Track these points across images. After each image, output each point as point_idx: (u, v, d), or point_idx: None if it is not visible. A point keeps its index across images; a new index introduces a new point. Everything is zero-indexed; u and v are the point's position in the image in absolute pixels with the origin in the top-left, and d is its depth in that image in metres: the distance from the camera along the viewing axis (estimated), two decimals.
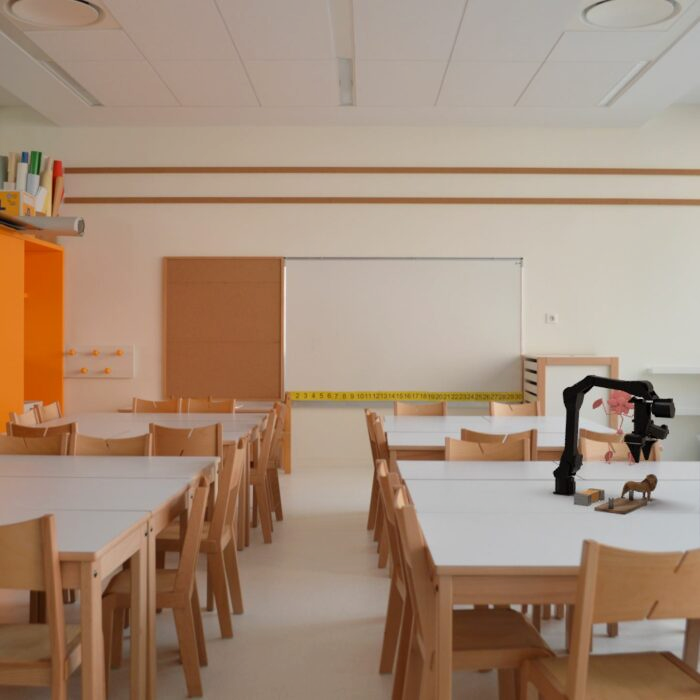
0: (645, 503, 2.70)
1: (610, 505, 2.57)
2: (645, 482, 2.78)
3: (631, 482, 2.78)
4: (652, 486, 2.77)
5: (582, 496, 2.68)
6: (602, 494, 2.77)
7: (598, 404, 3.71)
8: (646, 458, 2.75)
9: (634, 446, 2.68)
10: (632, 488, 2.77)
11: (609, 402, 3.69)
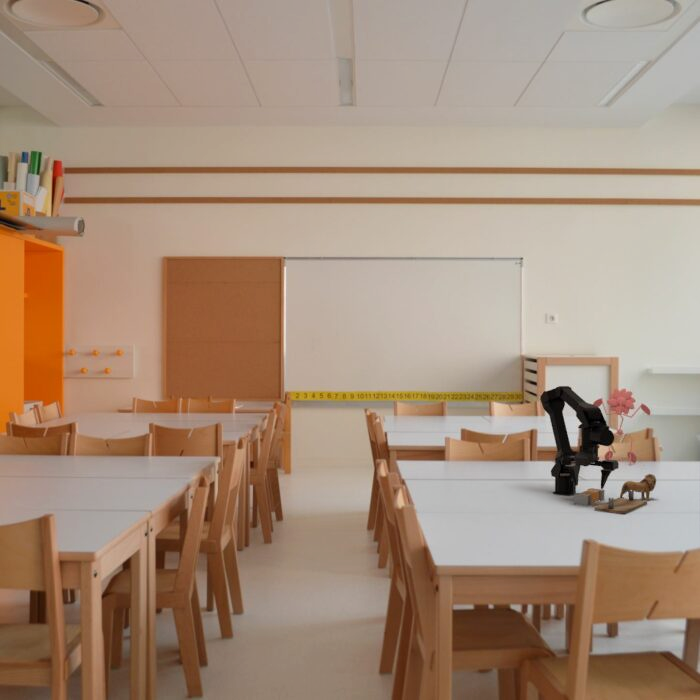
0: (645, 503, 2.70)
1: (610, 505, 2.57)
2: (644, 482, 2.78)
3: (630, 482, 2.78)
4: (651, 486, 2.77)
5: (582, 496, 2.68)
6: (602, 494, 2.77)
7: (598, 404, 3.71)
8: None
9: None
10: (631, 488, 2.77)
11: (609, 402, 3.69)
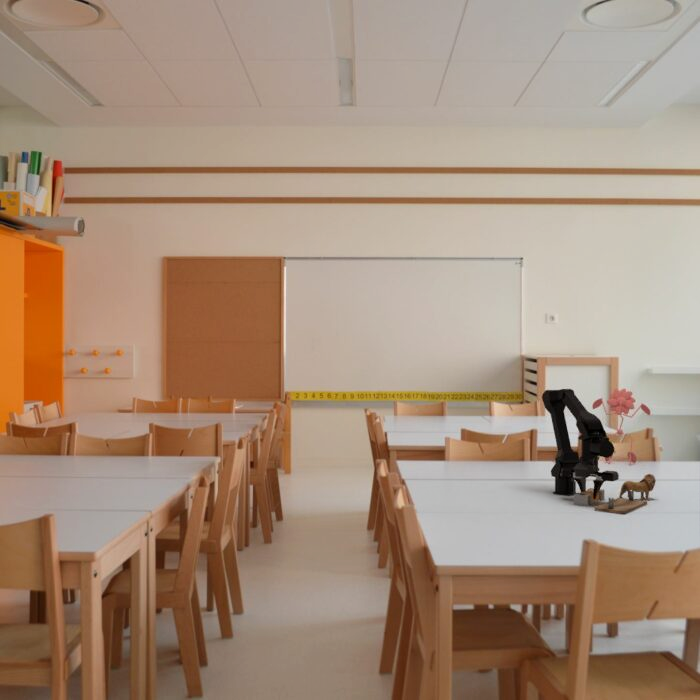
0: (645, 503, 2.70)
1: (610, 505, 2.57)
2: (644, 482, 2.78)
3: (629, 482, 2.78)
4: (650, 486, 2.77)
5: (582, 496, 2.68)
6: (602, 494, 2.77)
7: (598, 404, 3.71)
8: None
9: None
10: (630, 488, 2.77)
11: (609, 402, 3.69)
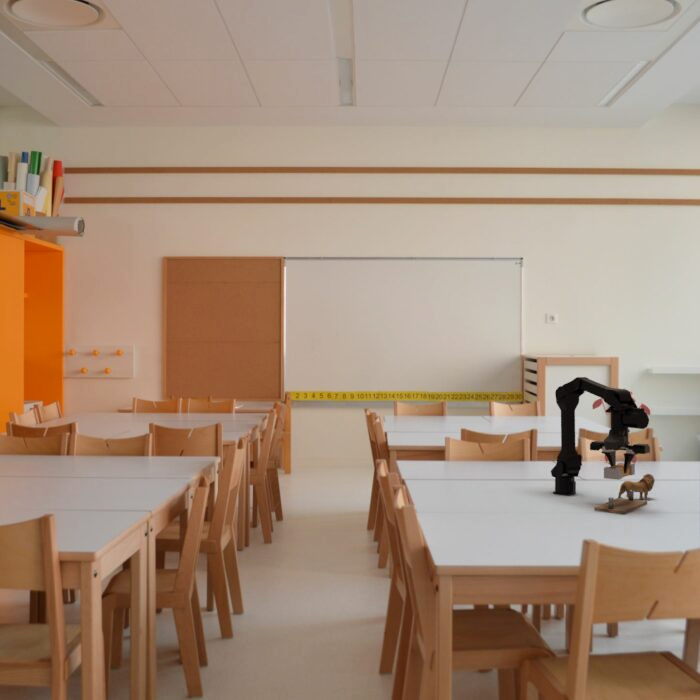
0: (645, 503, 2.70)
1: (610, 505, 2.57)
2: (642, 482, 2.78)
3: (628, 482, 2.78)
4: (649, 486, 2.78)
5: (613, 469, 2.60)
6: (632, 468, 2.69)
7: (598, 404, 3.71)
8: None
9: None
10: (629, 488, 2.77)
11: None
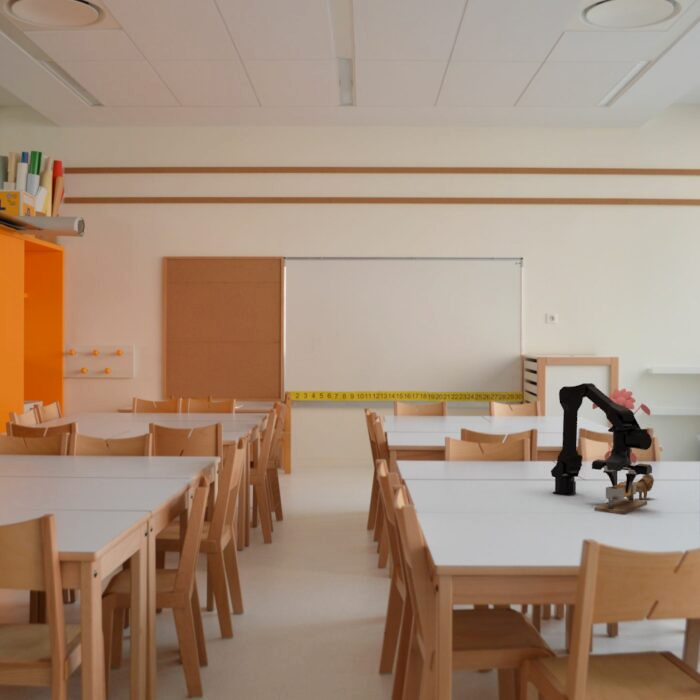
0: (645, 503, 2.70)
1: (610, 505, 2.57)
2: (642, 482, 2.78)
3: None
4: (648, 486, 2.78)
5: (614, 490, 2.59)
6: (634, 488, 2.68)
7: None
8: None
9: None
10: None
11: None
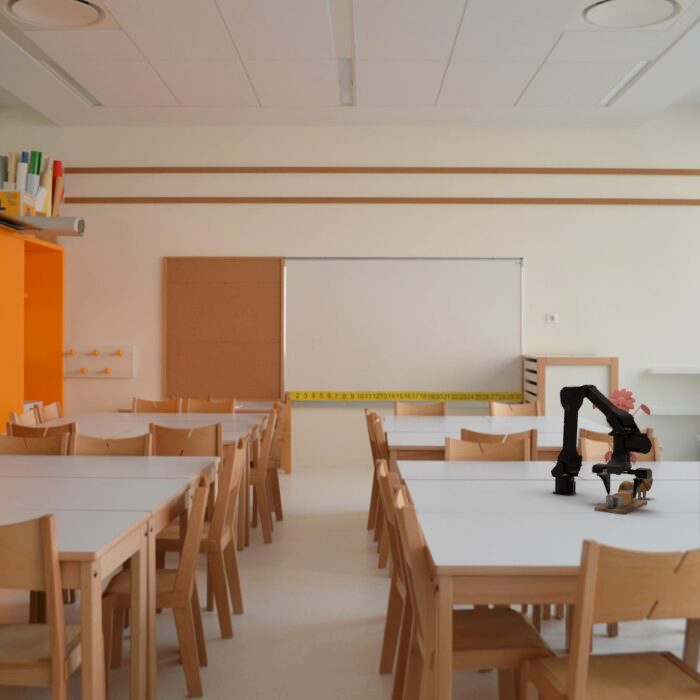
0: (645, 503, 2.70)
1: (610, 505, 2.57)
2: None
3: (627, 482, 2.78)
4: (648, 486, 2.78)
5: (614, 498, 2.59)
6: None
7: None
8: None
9: None
10: (628, 488, 2.77)
11: None
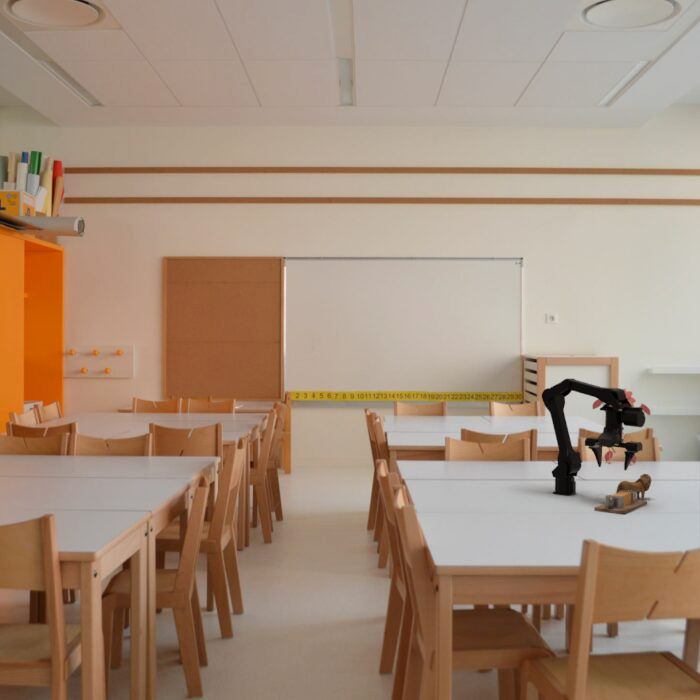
0: (645, 503, 2.70)
1: (610, 505, 2.57)
2: (639, 482, 2.78)
3: (625, 482, 2.78)
4: (646, 486, 2.78)
5: (614, 498, 2.59)
6: (634, 496, 2.68)
7: (598, 404, 3.71)
8: None
9: None
10: (626, 488, 2.77)
11: None
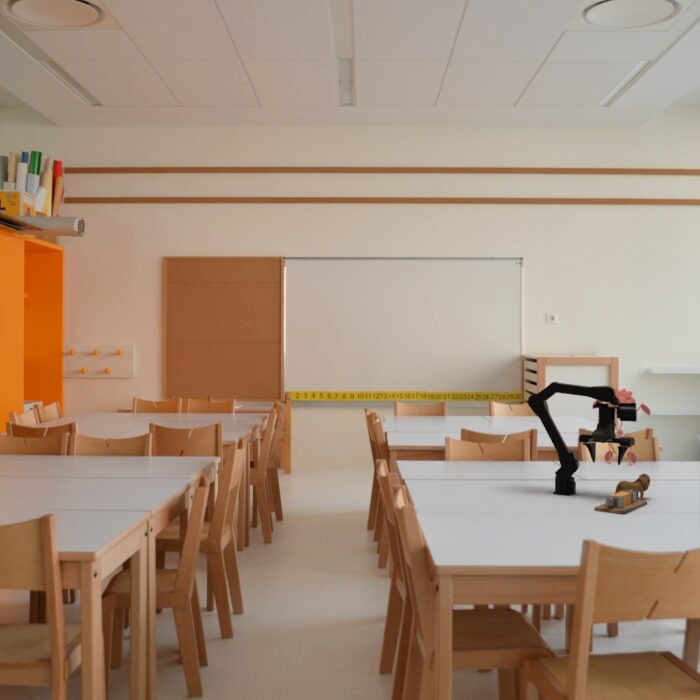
0: (645, 503, 2.70)
1: (610, 505, 2.57)
2: (638, 482, 2.78)
3: (624, 482, 2.78)
4: (645, 486, 2.78)
5: (614, 498, 2.59)
6: (634, 496, 2.68)
7: None
8: None
9: None
10: (625, 488, 2.77)
11: None
